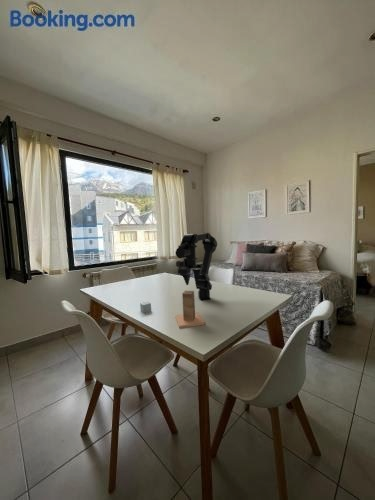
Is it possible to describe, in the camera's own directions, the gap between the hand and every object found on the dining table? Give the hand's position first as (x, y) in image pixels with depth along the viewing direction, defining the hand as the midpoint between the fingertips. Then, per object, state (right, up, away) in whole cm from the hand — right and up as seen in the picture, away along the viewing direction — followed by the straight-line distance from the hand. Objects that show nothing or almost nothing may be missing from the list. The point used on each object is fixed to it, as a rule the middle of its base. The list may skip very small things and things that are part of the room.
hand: (191, 283), depth 117 cm
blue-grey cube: (-25, -15, -4) cm, 30 cm away
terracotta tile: (-1, -15, -19) cm, 24 cm away
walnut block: (-1, -14, -19) cm, 24 cm away
